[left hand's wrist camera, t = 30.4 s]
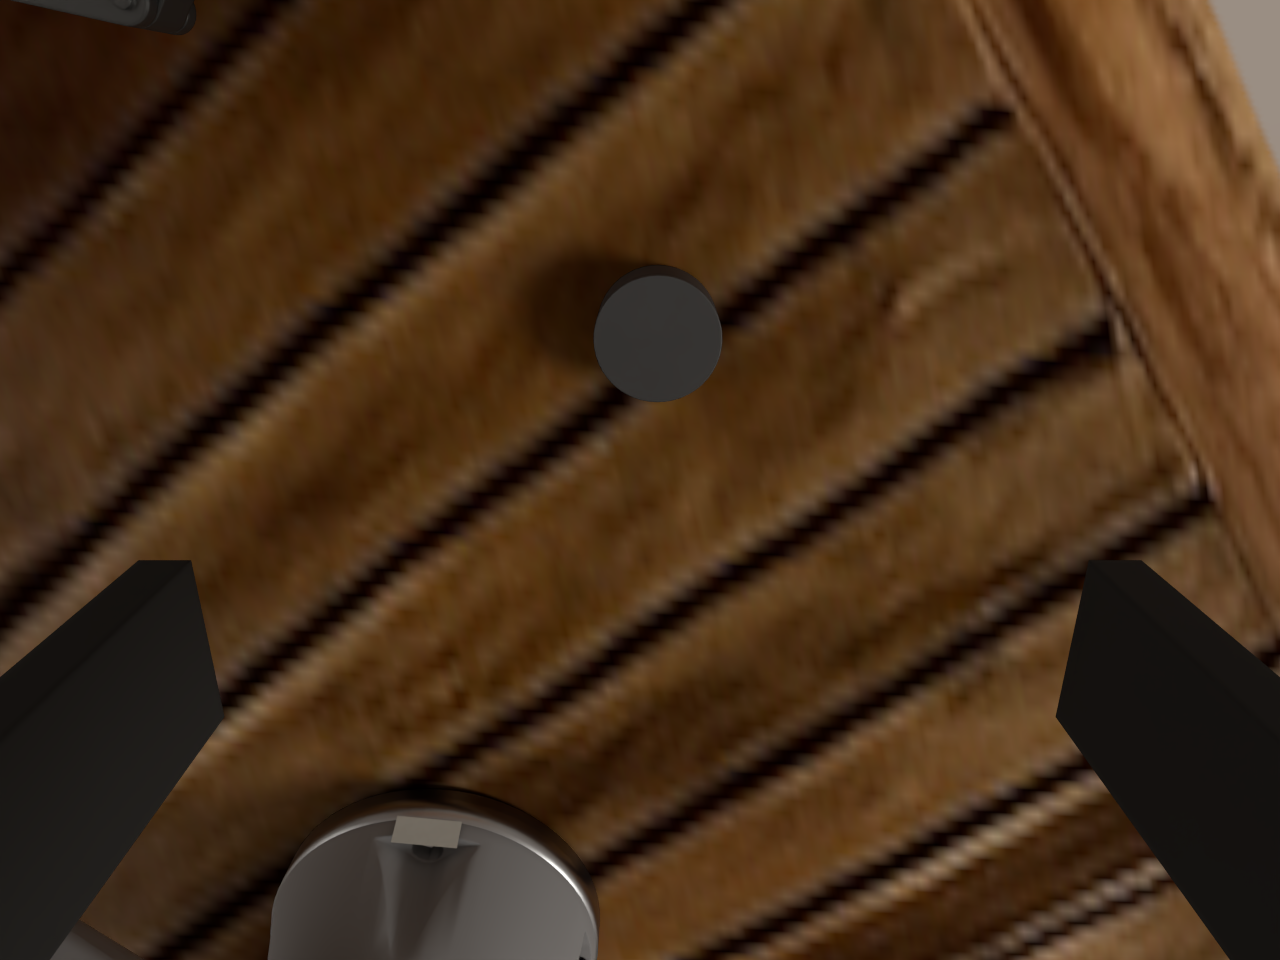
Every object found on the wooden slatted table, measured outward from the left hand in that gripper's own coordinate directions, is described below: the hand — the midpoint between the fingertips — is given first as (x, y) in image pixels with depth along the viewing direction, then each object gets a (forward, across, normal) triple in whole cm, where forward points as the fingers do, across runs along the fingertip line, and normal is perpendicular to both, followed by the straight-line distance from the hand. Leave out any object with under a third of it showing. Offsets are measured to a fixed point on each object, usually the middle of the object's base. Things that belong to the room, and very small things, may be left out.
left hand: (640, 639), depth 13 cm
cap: (+18, -1, -1) cm, 18 cm away
